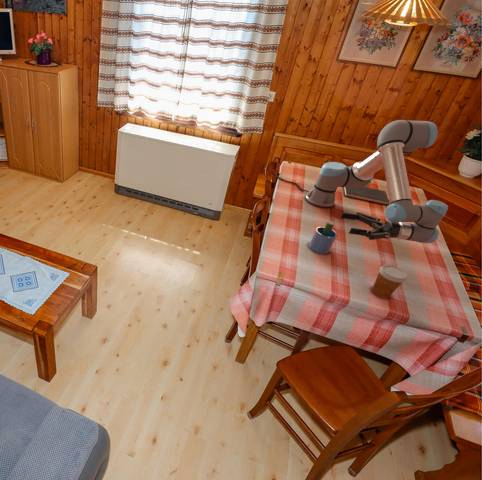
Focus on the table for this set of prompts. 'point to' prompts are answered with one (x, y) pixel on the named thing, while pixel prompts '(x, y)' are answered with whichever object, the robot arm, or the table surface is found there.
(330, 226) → the stick
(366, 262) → the table surface
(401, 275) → the disposable coffee cup
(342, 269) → the table surface
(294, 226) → the table surface
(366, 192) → the hardcover book
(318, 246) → the tumbler
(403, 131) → the robot arm
